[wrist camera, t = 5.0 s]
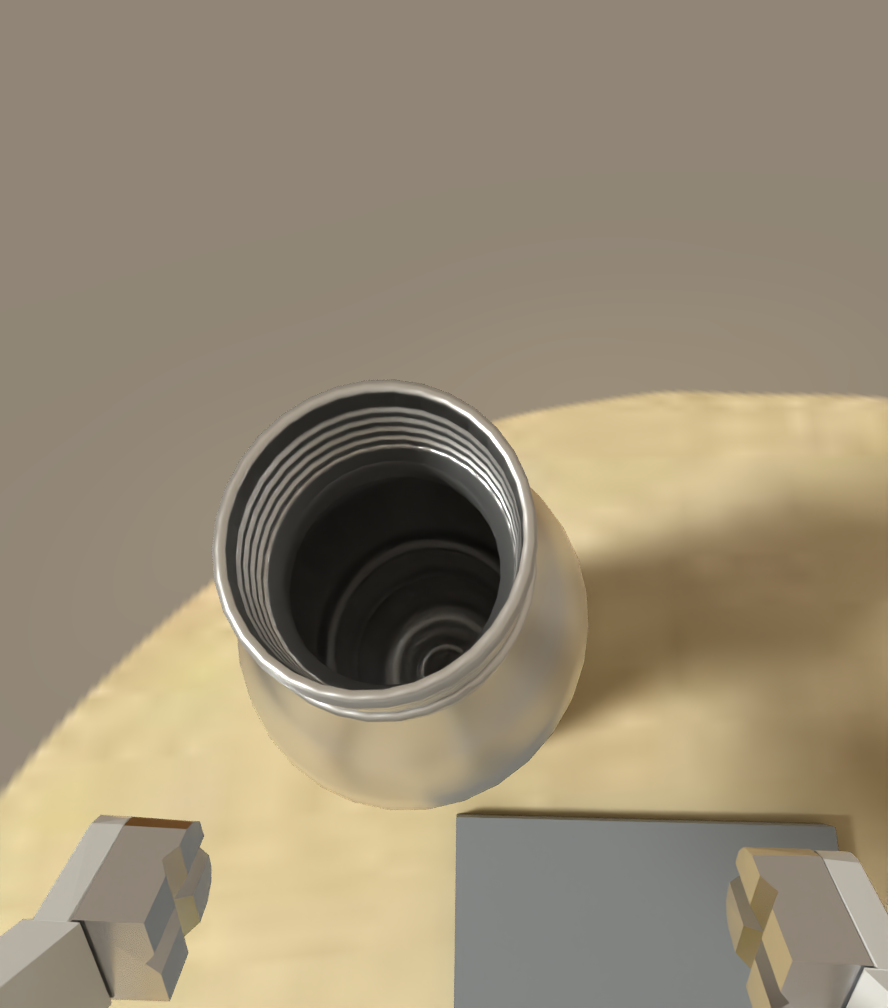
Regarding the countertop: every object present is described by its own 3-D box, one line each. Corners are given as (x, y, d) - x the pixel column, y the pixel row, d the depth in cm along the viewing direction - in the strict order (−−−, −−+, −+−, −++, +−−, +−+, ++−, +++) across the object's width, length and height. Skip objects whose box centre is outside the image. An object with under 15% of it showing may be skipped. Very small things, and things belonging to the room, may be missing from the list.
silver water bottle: (548, 611, 27) (725, 330, 8) (504, 789, 25) (599, 977, 6) (393, 567, 28) (219, 218, 9) (338, 736, 26) (-37, 754, 7)
